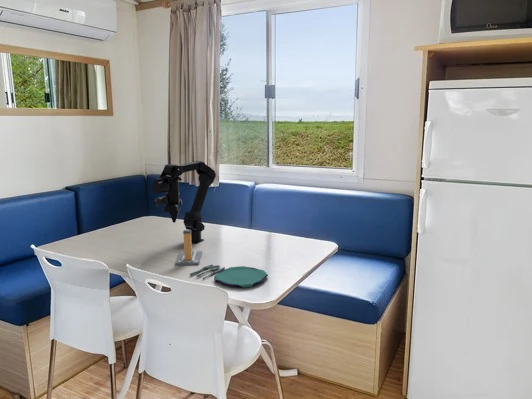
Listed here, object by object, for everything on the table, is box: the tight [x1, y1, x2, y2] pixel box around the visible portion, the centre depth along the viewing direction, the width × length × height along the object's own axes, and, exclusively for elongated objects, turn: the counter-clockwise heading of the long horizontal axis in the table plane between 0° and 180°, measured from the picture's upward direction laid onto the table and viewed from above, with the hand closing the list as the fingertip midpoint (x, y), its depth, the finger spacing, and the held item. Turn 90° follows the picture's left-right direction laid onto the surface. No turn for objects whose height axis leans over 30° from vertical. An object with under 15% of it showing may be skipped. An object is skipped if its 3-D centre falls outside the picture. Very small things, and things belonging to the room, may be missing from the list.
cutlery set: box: [189, 264, 269, 289], centre depth 165 cm, size 20×30×2 cm, turn 60°
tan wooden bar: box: [182, 229, 193, 260], centre depth 181 cm, size 2×3×13 cm
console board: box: [175, 249, 203, 266], centre depth 186 cm, size 16×10×2 cm, turn 4°
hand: (174, 222), depth 200 cm, fingers closed
